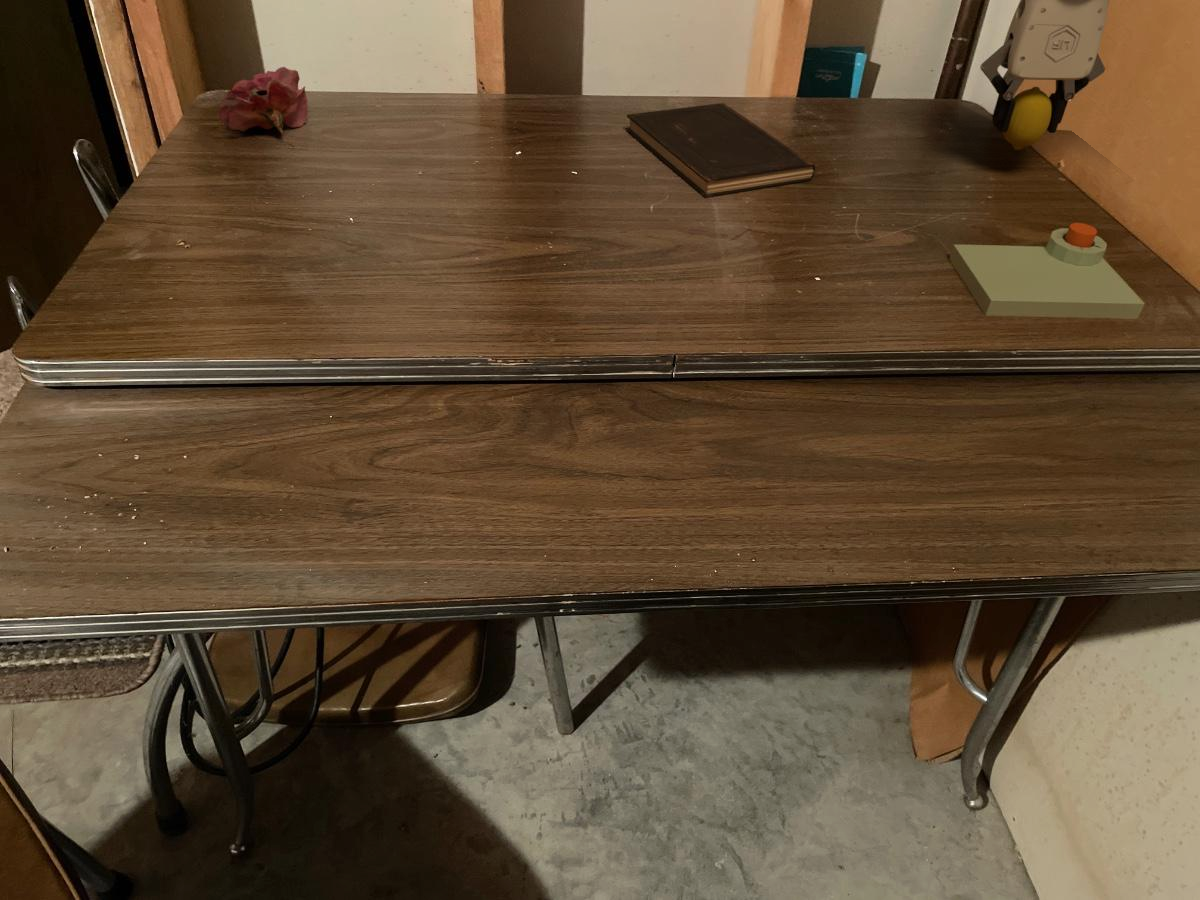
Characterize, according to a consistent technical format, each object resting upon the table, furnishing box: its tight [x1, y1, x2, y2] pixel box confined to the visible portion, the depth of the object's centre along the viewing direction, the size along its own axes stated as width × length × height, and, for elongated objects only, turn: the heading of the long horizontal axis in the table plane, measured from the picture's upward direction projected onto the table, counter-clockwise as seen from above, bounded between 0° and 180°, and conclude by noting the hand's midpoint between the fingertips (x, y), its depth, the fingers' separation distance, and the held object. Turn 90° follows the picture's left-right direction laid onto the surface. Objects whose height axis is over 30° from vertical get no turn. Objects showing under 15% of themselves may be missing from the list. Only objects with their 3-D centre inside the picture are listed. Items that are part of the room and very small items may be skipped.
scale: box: [948, 227, 1145, 320], centre depth 98 cm, size 16×13×4 cm
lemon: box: [1002, 86, 1052, 151], centre depth 117 cm, size 6×6×8 cm
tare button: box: [1064, 222, 1098, 248], centre depth 100 cm, size 3×3×2 cm
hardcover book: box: [625, 102, 816, 198], centre depth 122 cm, size 16×23×2 cm
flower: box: [218, 66, 309, 147], centre depth 120 cm, size 11×10×10 cm
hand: (1024, 127), depth 117 cm, fingers closed on lemon, 5 cm apart
